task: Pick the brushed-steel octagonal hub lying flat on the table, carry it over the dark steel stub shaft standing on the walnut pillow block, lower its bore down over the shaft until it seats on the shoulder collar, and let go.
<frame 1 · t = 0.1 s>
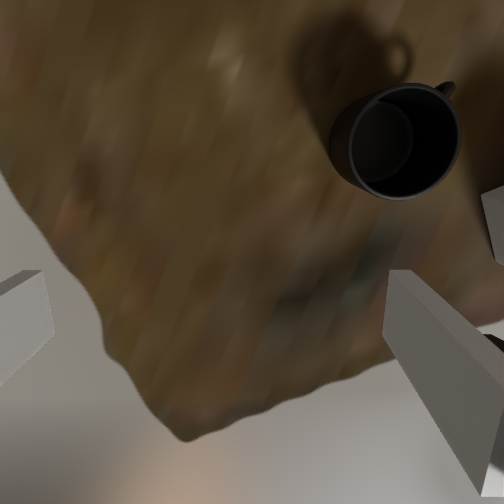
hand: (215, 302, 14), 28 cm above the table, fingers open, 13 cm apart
mug: (381, 133, 38), on the table
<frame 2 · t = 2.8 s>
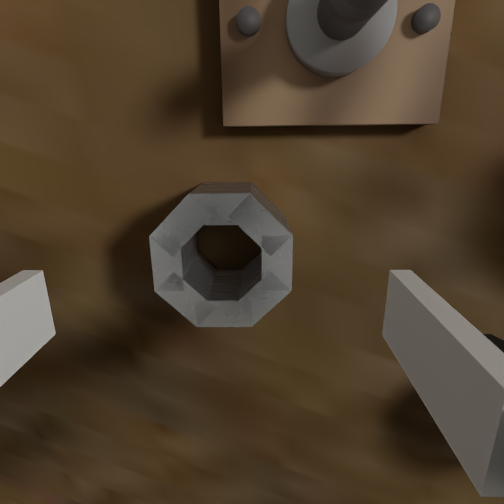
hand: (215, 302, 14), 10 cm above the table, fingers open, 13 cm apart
hub: (228, 239, 23), on the table
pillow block: (329, 30, 20), on the table
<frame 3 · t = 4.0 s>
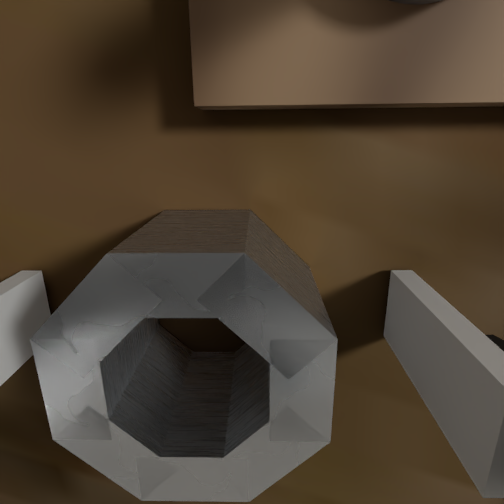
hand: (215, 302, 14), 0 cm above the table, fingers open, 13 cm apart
hub: (211, 304, 14), on the table
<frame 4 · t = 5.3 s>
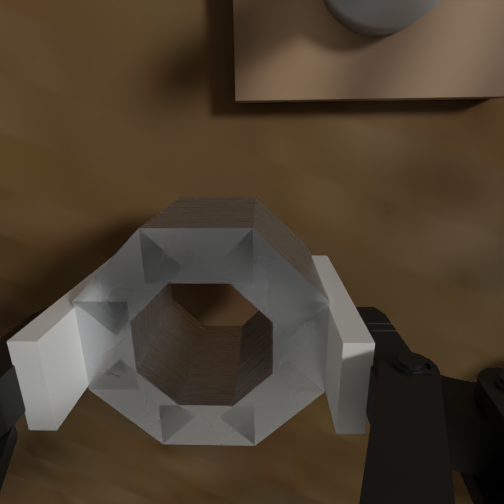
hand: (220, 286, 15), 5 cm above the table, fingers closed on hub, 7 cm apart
hub: (221, 282, 15), point 5 cm above the table, touching gripper
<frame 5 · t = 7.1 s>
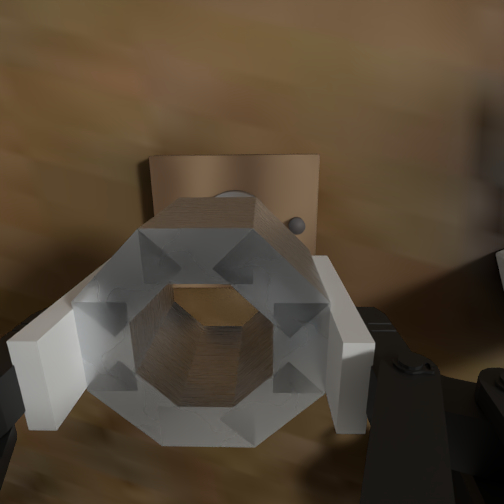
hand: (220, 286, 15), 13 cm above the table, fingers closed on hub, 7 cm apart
mug: (418, 442, 34), on the table
hub: (221, 283, 15), point 13 cm above the table, touching gripper
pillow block: (236, 220, 28), on the table
when the fingers open (4 cm above the table, at t = 9.1 s): hub stays where it is, resting on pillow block.
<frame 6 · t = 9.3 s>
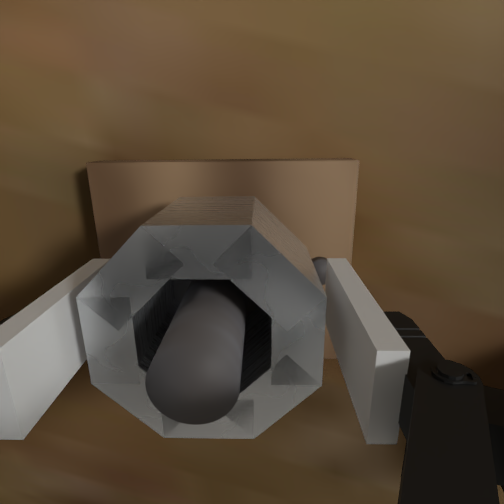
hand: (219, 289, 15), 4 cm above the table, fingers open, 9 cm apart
hub: (220, 280, 16), point 3 cm above the table, touching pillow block
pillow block: (227, 258, 19), on the table
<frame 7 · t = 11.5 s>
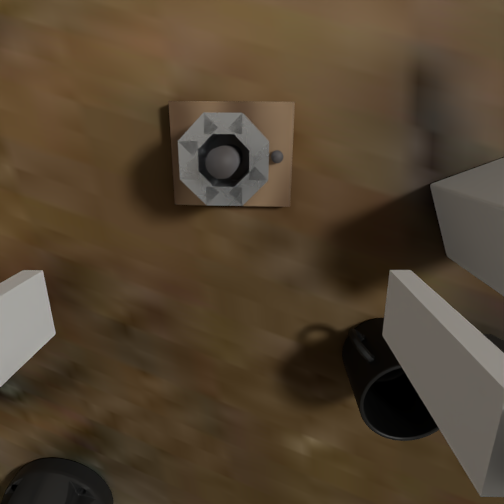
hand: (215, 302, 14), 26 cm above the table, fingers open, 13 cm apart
mug: (373, 342, 43), on the table
hub: (229, 156, 34), point 3 cm above the table, touching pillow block
soap bottle: (478, 206, 38), on the table
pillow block: (233, 155, 37), on the table
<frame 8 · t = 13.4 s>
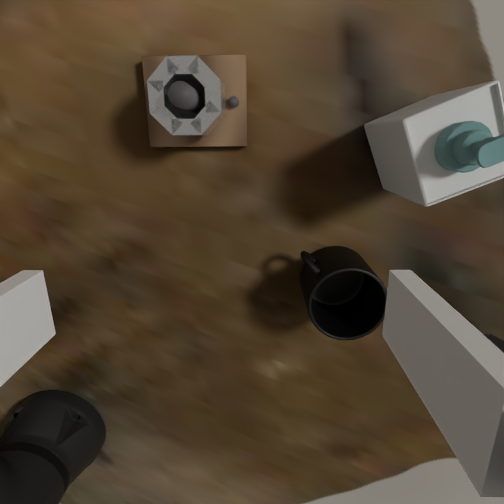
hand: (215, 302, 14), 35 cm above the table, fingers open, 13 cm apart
mug: (327, 270, 50), on the table
hub: (193, 101, 41), point 3 cm above the table, touching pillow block
soap bottle: (406, 144, 45), on the table
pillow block: (198, 103, 44), on the table
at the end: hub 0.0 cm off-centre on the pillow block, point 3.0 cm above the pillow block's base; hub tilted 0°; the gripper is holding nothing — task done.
